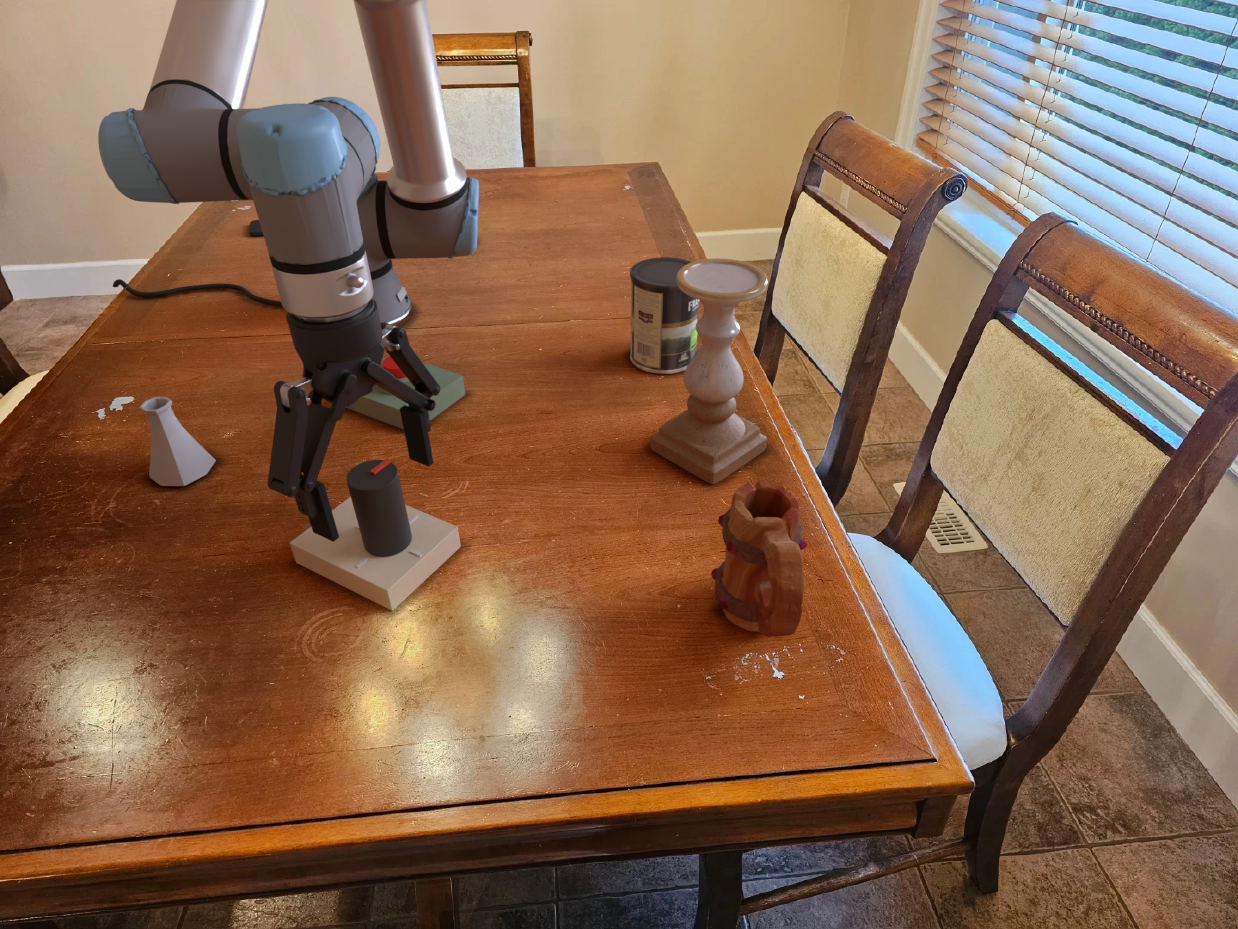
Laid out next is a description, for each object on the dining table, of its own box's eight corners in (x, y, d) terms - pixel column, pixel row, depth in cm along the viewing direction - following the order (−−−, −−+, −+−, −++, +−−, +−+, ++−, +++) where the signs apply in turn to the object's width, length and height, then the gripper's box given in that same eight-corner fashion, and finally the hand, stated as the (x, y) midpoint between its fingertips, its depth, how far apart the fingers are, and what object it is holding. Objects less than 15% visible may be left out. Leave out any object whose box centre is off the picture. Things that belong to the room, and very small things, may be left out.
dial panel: (295, 562, 87) (288, 541, 85) (368, 506, 94) (363, 485, 92) (392, 611, 81) (386, 589, 79) (461, 546, 88) (457, 525, 87)
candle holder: (703, 415, 109) (715, 248, 95) (767, 448, 103) (791, 275, 88) (648, 448, 103) (652, 275, 89) (713, 486, 97) (729, 307, 82)
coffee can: (700, 344, 125) (706, 259, 116) (691, 378, 117) (697, 289, 108) (636, 338, 127) (637, 253, 118) (623, 370, 119) (623, 282, 110)
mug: (703, 577, 85) (714, 466, 75) (779, 573, 85) (798, 461, 76) (730, 692, 73) (746, 577, 64) (817, 686, 74) (845, 570, 64)
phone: (326, 225, 163) (248, 233, 159) (327, 229, 164) (249, 237, 160) (325, 213, 169) (250, 220, 165) (326, 217, 169) (251, 224, 166)
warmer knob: (389, 563, 82) (372, 493, 76) (354, 546, 84) (334, 477, 78) (421, 534, 86) (407, 466, 80) (387, 519, 88) (370, 451, 82)
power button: (378, 375, 109) (375, 364, 108) (398, 362, 112) (396, 351, 111) (400, 382, 107) (397, 371, 106) (419, 369, 110) (417, 358, 109)
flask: (227, 459, 101) (202, 393, 95) (185, 493, 96) (156, 425, 90) (182, 448, 103) (154, 382, 97) (138, 481, 98) (106, 414, 92)
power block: (342, 406, 111) (334, 375, 108) (396, 371, 119) (391, 341, 116) (413, 433, 106) (407, 401, 103) (465, 394, 113) (461, 364, 110)
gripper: (239, 380, 58) (308, 586, 71) (458, 262, 75) (482, 444, 88) (173, 355, 61) (251, 556, 74) (398, 247, 78) (429, 425, 91)
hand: (376, 496), depth 81 cm, fingers open, 13 cm apart
